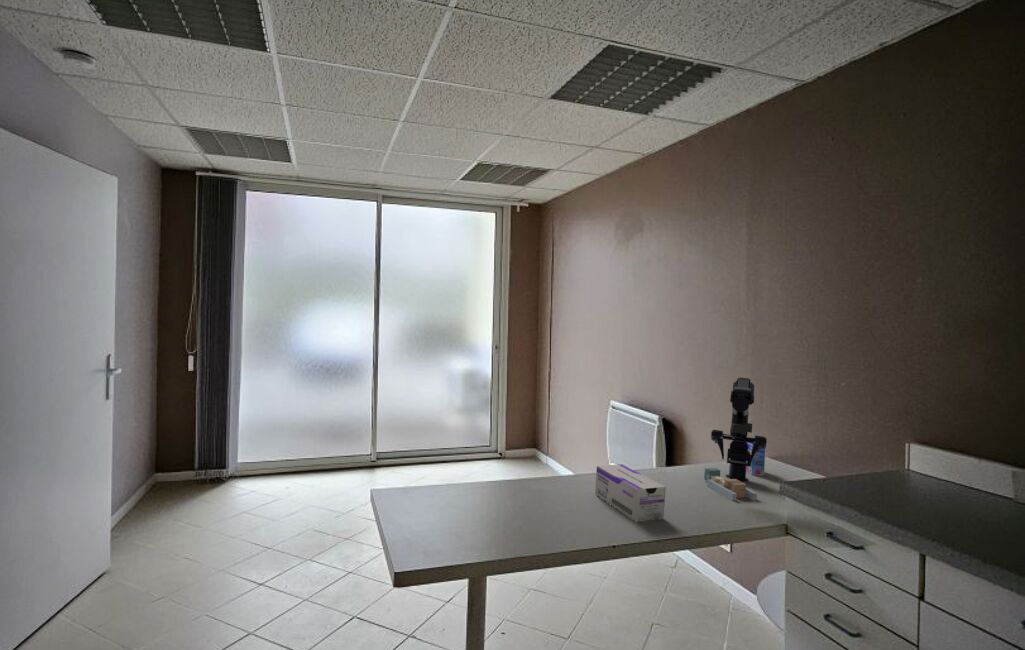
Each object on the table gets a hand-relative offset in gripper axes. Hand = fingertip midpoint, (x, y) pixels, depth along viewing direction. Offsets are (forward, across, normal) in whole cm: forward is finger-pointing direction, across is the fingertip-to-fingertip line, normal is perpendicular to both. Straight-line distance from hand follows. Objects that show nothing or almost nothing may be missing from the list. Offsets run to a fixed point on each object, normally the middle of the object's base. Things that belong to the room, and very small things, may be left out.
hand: (736, 461), depth 194 cm
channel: (+9, -1, +13) cm, 16 cm away
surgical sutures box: (+26, -33, -19) cm, 46 cm away
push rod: (+5, -6, +18) cm, 20 cm away
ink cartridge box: (-8, +7, +45) cm, 46 cm away
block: (+10, 0, +12) cm, 15 cm away
